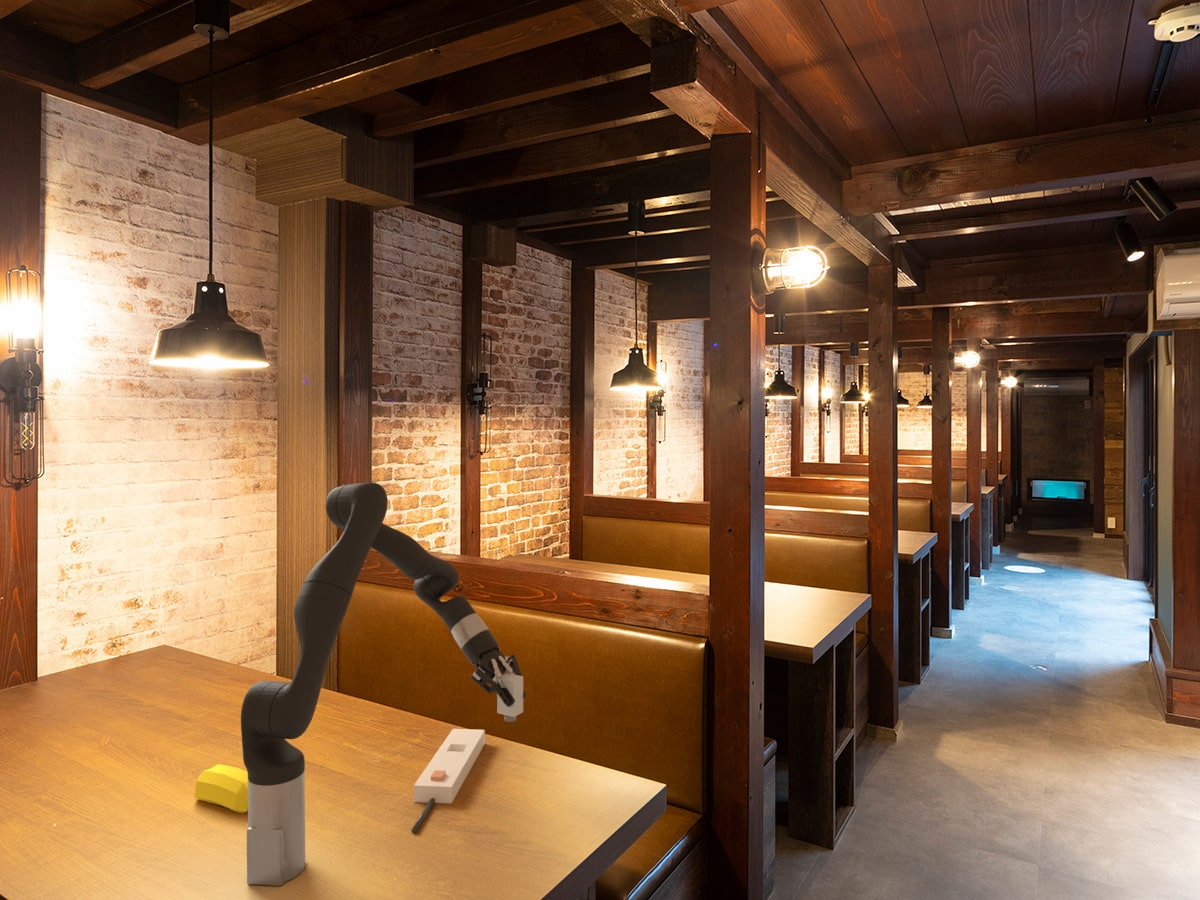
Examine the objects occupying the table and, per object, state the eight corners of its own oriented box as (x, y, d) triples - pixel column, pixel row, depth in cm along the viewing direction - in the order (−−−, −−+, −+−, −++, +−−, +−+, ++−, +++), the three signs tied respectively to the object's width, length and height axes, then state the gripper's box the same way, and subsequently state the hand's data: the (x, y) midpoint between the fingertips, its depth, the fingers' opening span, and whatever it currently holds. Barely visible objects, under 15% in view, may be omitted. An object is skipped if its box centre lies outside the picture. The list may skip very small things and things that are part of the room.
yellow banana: (217, 785, 166) (185, 801, 159) (217, 755, 166) (184, 769, 159) (276, 803, 158) (244, 821, 151) (276, 772, 158) (244, 787, 151)
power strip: (434, 834, 146) (434, 812, 146) (393, 832, 147) (393, 810, 147) (484, 743, 188) (484, 726, 188) (452, 742, 189) (452, 725, 188)
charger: (523, 719, 169) (523, 676, 169) (513, 724, 166) (513, 680, 166) (506, 715, 172) (507, 673, 171) (497, 720, 168) (497, 677, 168)
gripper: (463, 636, 166) (507, 702, 160) (503, 621, 178) (546, 682, 172) (444, 656, 169) (487, 721, 163) (485, 641, 181) (526, 701, 175)
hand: (517, 701), depth 168 cm, fingers closed on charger, 3 cm apart
